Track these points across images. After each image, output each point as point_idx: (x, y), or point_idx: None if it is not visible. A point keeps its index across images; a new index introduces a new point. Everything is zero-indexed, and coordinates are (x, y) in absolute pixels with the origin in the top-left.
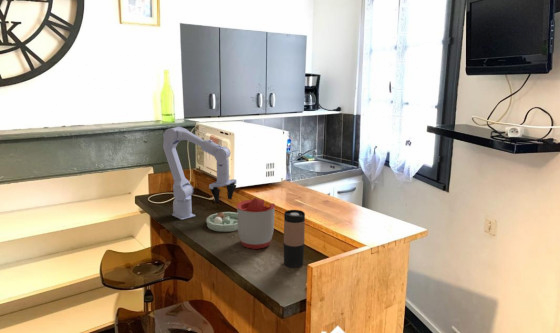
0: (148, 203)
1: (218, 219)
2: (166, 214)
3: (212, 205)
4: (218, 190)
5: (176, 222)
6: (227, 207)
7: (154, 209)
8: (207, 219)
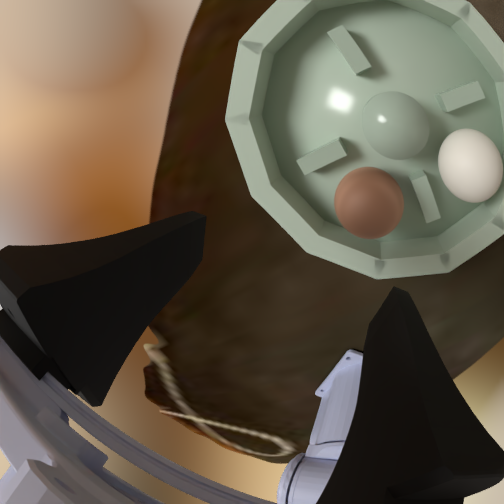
0: None
1: (496, 154)
2: None
3: (191, 336)
4: (479, 462)
5: None
6: None
7: None
8: (470, 253)
